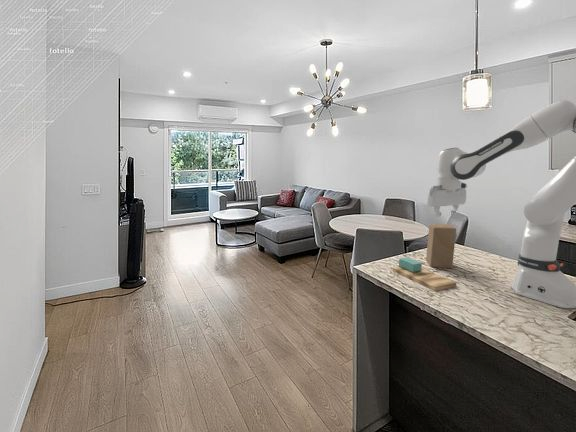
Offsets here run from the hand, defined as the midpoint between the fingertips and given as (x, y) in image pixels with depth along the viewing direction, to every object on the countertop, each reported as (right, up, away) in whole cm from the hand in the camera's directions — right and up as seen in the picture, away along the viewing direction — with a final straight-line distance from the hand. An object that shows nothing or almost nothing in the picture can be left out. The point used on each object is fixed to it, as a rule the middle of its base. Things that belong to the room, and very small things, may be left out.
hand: (445, 215), depth 142 cm
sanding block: (-15, -25, +4) cm, 30 cm away
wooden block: (+4, -25, +15) cm, 29 cm away
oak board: (-12, -28, -3) cm, 31 cm away
